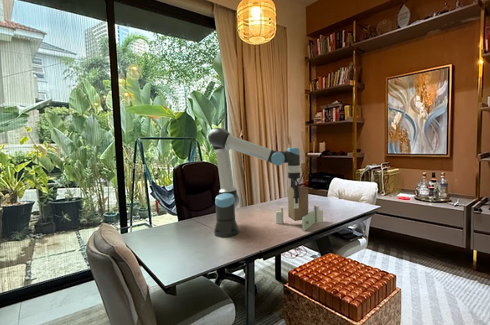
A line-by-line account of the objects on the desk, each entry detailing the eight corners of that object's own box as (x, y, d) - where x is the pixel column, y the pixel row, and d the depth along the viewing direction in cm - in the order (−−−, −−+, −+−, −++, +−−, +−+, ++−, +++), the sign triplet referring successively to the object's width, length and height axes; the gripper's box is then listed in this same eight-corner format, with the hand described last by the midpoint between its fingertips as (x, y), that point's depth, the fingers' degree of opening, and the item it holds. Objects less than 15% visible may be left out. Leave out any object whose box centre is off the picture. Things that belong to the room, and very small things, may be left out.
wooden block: (309, 219, 168) (308, 188, 166) (294, 221, 165) (294, 190, 163) (301, 215, 177) (301, 186, 175) (287, 217, 174) (287, 187, 173)
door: (313, 222, 175) (313, 210, 175) (317, 222, 174) (317, 210, 173) (302, 230, 160) (302, 217, 159) (306, 231, 158) (306, 218, 157)
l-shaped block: (276, 223, 176) (275, 207, 175) (276, 223, 178) (275, 206, 177) (323, 222, 175) (322, 205, 174) (322, 221, 177) (321, 205, 176)
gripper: (303, 174, 156) (304, 210, 158) (296, 169, 179) (296, 201, 181) (291, 174, 156) (292, 211, 158) (285, 170, 179) (286, 201, 181)
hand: (294, 206), depth 170 cm, fingers closed on wooden block, 11 cm apart
